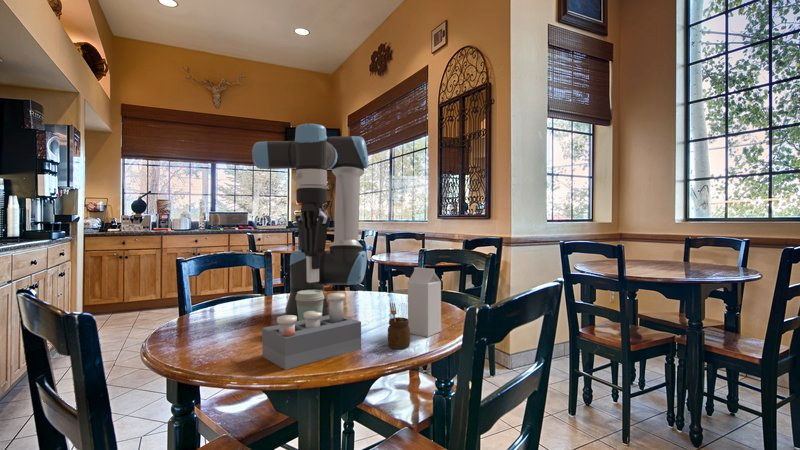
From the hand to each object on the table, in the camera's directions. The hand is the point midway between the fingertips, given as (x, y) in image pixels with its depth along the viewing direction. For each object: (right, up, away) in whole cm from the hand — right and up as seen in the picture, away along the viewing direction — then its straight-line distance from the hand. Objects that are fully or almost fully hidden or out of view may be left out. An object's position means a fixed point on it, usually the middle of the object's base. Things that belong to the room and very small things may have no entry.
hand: (313, 281), depth 101 cm
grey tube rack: (0, -18, 0) cm, 18 cm away
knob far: (+5, -11, +5) cm, 13 cm away
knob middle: (0, -15, 0) cm, 15 cm away
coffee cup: (-5, -18, +18) cm, 26 cm away
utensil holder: (+22, -18, +5) cm, 28 cm away
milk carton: (+29, -18, +17) cm, 38 cm away
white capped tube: (-5, -15, -5) cm, 17 cm away
